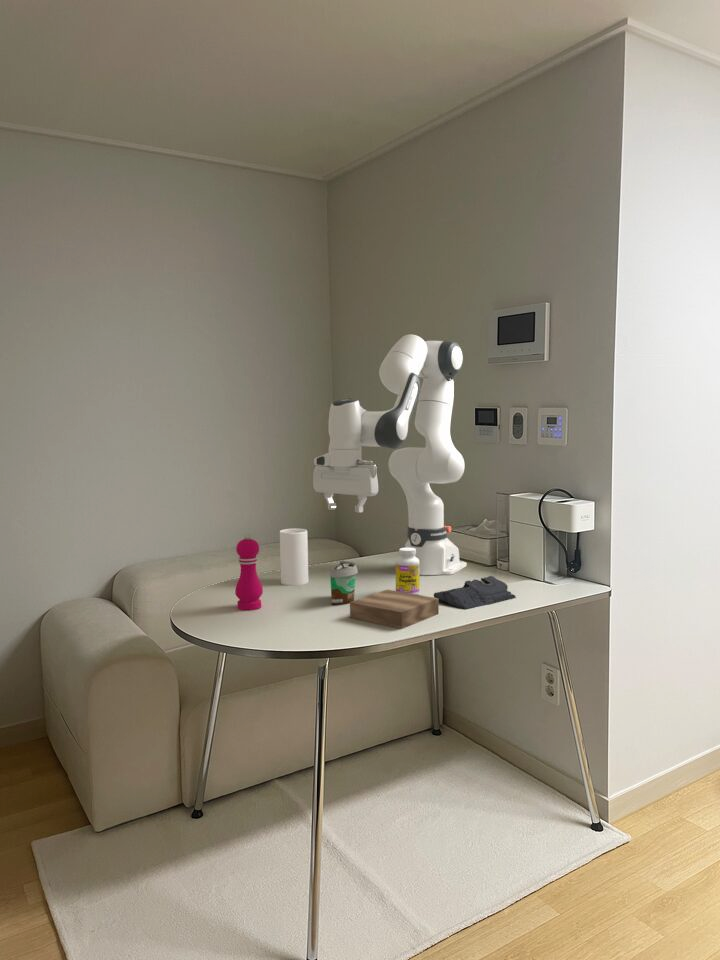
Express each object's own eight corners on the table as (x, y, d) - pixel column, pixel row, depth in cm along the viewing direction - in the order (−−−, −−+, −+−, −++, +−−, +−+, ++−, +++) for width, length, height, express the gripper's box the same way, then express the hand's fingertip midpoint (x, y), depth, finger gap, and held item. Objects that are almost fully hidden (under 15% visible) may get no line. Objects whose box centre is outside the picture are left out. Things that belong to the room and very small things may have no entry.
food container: (353, 607, 203) (352, 570, 202) (330, 606, 205) (329, 569, 204) (362, 596, 215) (361, 560, 214) (340, 595, 217) (340, 560, 216)
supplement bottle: (395, 596, 214) (395, 551, 213) (396, 591, 220) (395, 546, 219) (419, 597, 213) (419, 551, 212) (419, 591, 220) (419, 546, 219)
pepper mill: (232, 610, 202) (229, 535, 200) (240, 603, 209) (238, 530, 207) (259, 611, 201) (256, 535, 199) (266, 604, 208) (264, 531, 206)
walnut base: (388, 604, 206) (387, 589, 206) (438, 613, 196) (438, 598, 196) (350, 617, 194) (349, 602, 194) (402, 628, 184) (401, 612, 184)
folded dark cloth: (424, 601, 211) (424, 584, 211) (481, 588, 224) (481, 572, 224) (464, 612, 199) (464, 594, 198) (521, 598, 212) (521, 581, 212)
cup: (309, 580, 236) (308, 528, 234) (307, 586, 228) (306, 532, 226) (282, 580, 236) (281, 528, 234) (279, 586, 228) (278, 533, 226)
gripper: (383, 460, 203) (383, 512, 204) (324, 457, 215) (324, 506, 216) (368, 461, 198) (368, 515, 199) (309, 458, 210) (309, 509, 212)
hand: (345, 510), depth 208 cm, fingers open, 8 cm apart
